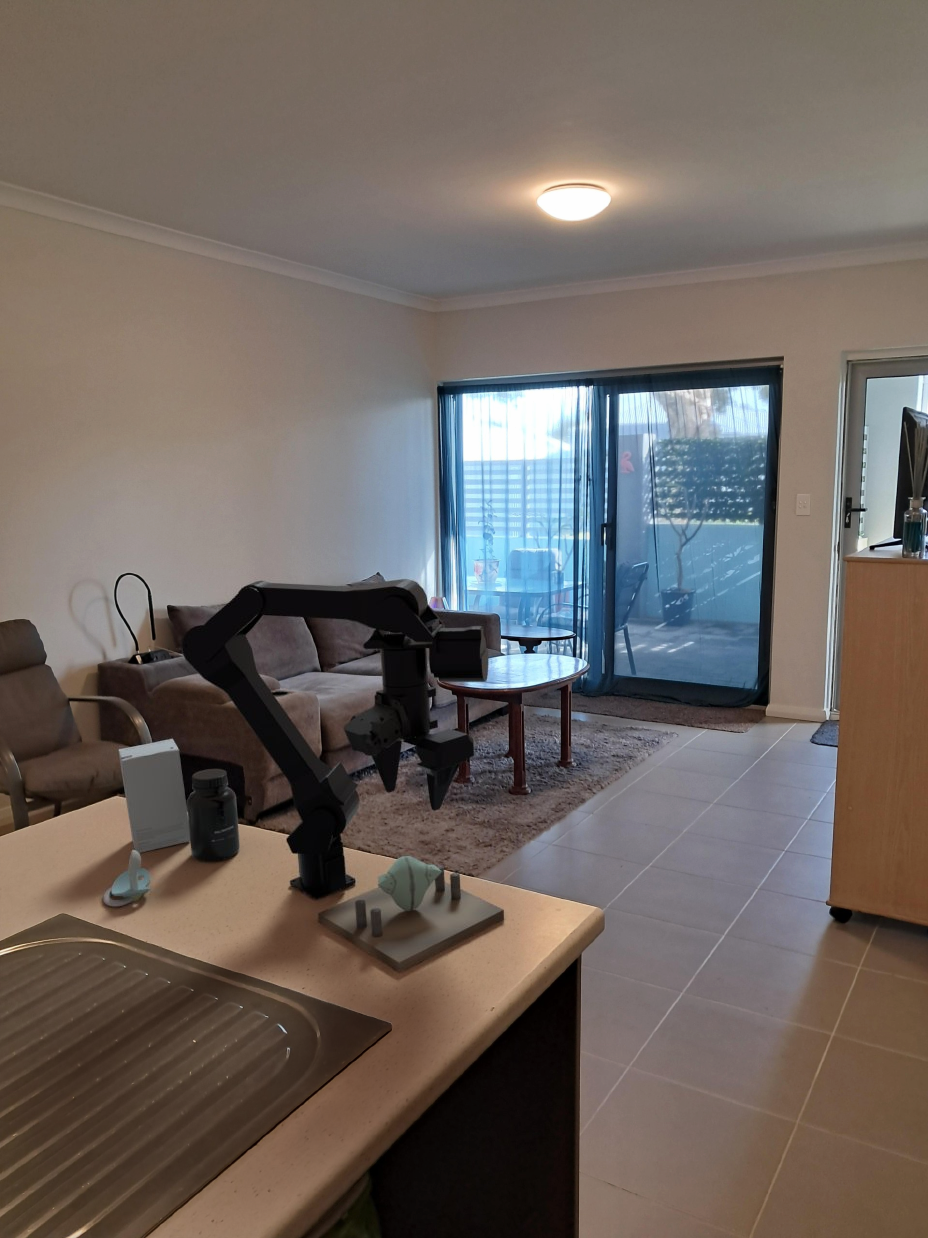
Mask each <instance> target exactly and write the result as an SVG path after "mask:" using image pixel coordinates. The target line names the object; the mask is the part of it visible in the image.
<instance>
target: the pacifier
mask: <svg viewBox="0 0 928 1238" xmlns="http://www.w3.org/2000/svg"><path fill="white" fill-rule="evenodd" d="M141 864H142V857H141V853H138V852H137V851H135V849H132V850H131V852H130V856H129V861H128V867H127V870H125V871H123V872H122V873H121V874H120V875H118V876H117V878H116V879H115V880H114V882H113V885H112V886H110V887H109V888H108V889H107V890H106V891H105V892H104V893H103V896H102V900H103V902H104V904H106V905H107V906H110V907H114V908H116V907H117V908H118V907H122V906H125V905H127V904H129V903H131V902H135V901H138V900H139V899H140V898H141V897H142V896H143V894H144V893H147V892H150V890H151V888H150V887H148V886H149V885H150V883H151V874H150V872H149V871H148V870H147V869H146V868H143V867H141ZM140 878H142V880H139V879H140ZM111 896H115V897H122V899H118V900H117V899H116V900H115V899H112V898H111Z"/></svg>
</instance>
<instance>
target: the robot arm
mask: <svg viewBox="0 0 928 1238" xmlns="http://www.w3.org/2000/svg"><path fill="white" fill-rule="evenodd" d="M264 616H269V617H271V616H273V617H293V618H307V619H308V618H309V619H327V620H345V621H351V622H355V623H357V624H360V625H362V626H364V627H367V628H370V629H374V630H373V632H372V634H371V636H370V637H369V639H367V641H365V642H364V643H363V645H362V646H363V649H365V650H380V651H379V652H380V663H381V682H382V689H379V690H376V691H375V695H374V705H373V706H372V707H370V708H368V709H366V710H364V711H362V712H361V713H358V714H355V715H353V716H352V717H351V718H350V720H349V721H348V723H346V724H345V725H344V726H343V731H344V733H345V736H346V738H347V740H348V742H349V744H350V747H351V750H352V751H354V752H359V753H363V754H364V755H365V756H368V757H371V758H372V760H373V762H374V765H375V766H376V769H377V771H378V774H379V777H380V779H381V781H382V784H383V787H384V789H385V792H386V793H393V792H394V791H395V790H396V785H397V782H398V781H397V780H398V774H399V766H400V759H401V751H402V745H403V743H405V744H409V745H413V746H415V747H416V755H417V757H418V758H419V761H420V762H418V763H416V765H417V766H418V767H419V768H420V769H421V770H423V771H424V773H425V774H426V783H427V788H428V789H427V791H428V798H429V803H430V807H431V811H434V812H435V811H438V810H440V809H441V807H442V805H443V803H444V800H445V798H446V796H447V793H448V791H449V788H450V787H451V784H452V782H453V779H454V778H455V775H456V774H457V772H458V770H459V768H460V767H461V764H462V763H465V762H467V761H468V759H469V758H473V757H474V756H475V740H474V738H472V737H471V735H469V734H468V733H466V732H463V731H458V730H454V729H451V728H447V729H445V730H442V731H438V732H436V733H435V732H434V733H431V730H433V729H437V728H439V725H438V723H439V722H438V719H436V718H432V717H431V703H430V698H433V697H437V688H436V687H433V686H430V685H429V671H430V673H431V675H433V677H434V678H436V679H437V678H438V681H439V682H440V683H486V682H487V679H488V674H489V648H487V642H486V637H485V635H484V627H483V626H482V625H472V626H467V627H446V625H445V623H444V622H443V621H442V619H441V618H440V617H439V616H438V614H437V613H436V612H435V611H434V610H433V608H432V607H431V606H430V605H429V603H428V595H427V594H426V591H425V589H424V588H423V587H422V586H421V585H420V584H419V582H417V581H415V580H413V579H408V578H402V579H394V580H386V581H380V582H374V583H369V584H364V585H358V586H346V585H345V586H343V585H325V584H324V585H320V584H303V583H299V584H298V583H283V582H282V583H279V582H278V583H277V582H269V581H266V580H258V581H257V580H256V581H254V582H252V583H250V584H247V585H245V586H243V587H241V589H240V590H239V591H238V592H237V593H236V594H235V596H233V598H232V599H231V600H230V601H229V602H228V603H225V605H224V606H223V607H221V608H220V609H219V610H218V611H217V612H215V614H214V615H212V616H211V617H210V618H209V619H208V620H206V621H204V622H202V623H200V624H197V625H195V626H192V627H191V628H189V629H188V630H187V632H186V633H185V634H184V636H183V638H182V645H181V648H180V649H181V653H182V655H183V657H184V659H185V661H186V662H187V664H189V666H191V667H192V668H193V670H195V671H196V673H198V675H199V676H200V677H201V678H203V679H204V680H205V681H206V682H208V683H209V684H211V685H213V686H214V687H216V688H218V689H219V690H222V691H223V692H225V694H226V695H227V696H228V698H229V700H230V701H231V702H232V703H233V705H234V707H236V709H237V710H238V712H239V713H240V715H241V716H242V718H244V720H245V721H246V724H247V725H248V726H249V727H250V729H251V730H252V732H253V733H254V734H255V736H256V737H257V739H258V740H259V741H260V743H261V744H262V746H263V747H264V749H265V751H267V752H268V755H270V757H271V758H272V760H273V761H274V763H275V764H276V765H277V766H278V768H279V769H280V771H281V773H282V774H283V775H284V777H285V778H286V780H287V781H288V783H289V786H290V789H291V791H290V792H291V794H292V799H293V804H294V808H295V809H296V812H297V814H298V816H299V818H300V822H299V823H298V824H297V825H296V827H294V829H293V830H292V831H291V832H290V834H289V835H288V836H287V837H286V840H285V841H286V843H287V845H288V847H289V850H290V853H291V854H292V855H293V854H294V855H297V861H298V873H299V876H298V877H295V878H293V879H290V880H289V885H290V886H291V887H294V888H295V889H297V890H298V891H299V892H301V893H303V894H305V895H307V896H309V897H310V898H312V899H313V900H318V899H321V898H324V897H326V896H329V895H331V894H333V893H335V892H339V891H340V890H342V889H345V888H347V887H350V886H352V885H355V884H356V878H355V877H353V876H351V875H349V874H347V871H346V869H347V867H346V857H345V854H344V842H343V841H342V836H341V834H343V832H344V831H345V830H346V828H347V827H348V825H349V824H350V823H351V821H352V819H353V818H354V816H356V814H357V812H358V810H359V805H360V795H359V793H358V791H357V788H358V786H359V784H358V783H356V782H355V781H354V780H353V779H352V778H351V777H350V776H349V774H348V772H347V770H346V768H345V766H344V765H343V764H342V762H337V764H335V765H334V766H333V767H332V766H330V765H328V764H327V763H325V762H323V761H322V760H321V759H320V758H318V756H317V755H316V753H315V752H314V750H313V749H312V747H311V746H310V745H309V744H308V742H307V740H306V739H305V737H304V736H303V735H302V734H301V732H300V731H299V729H298V728H297V726H296V725H295V724H294V722H293V721H292V719H291V718H290V716H289V715H288V714H287V713H288V712H286V711H285V709H284V708H283V706H282V705H281V704H280V702H279V701H278V699H277V698H276V697H275V695H274V693H273V692H272V690H271V689H270V688H269V686H268V685H267V684H266V682H265V681H264V679H263V678H262V677H261V675H260V674H259V672H258V670H257V667H256V662H255V658H254V653H253V648H252V646H251V644H250V642H249V639H248V638H247V635H248V634H249V633H250V632H251V631H252V630H253V629H254V628H255V627H256V626H257V624H258V623H260V621H261V620H262V618H263V617H264ZM427 649H428V651H427ZM428 662H429V663H428ZM428 664H429V666H428ZM428 667H429V669H428Z"/></svg>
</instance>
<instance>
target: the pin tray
mask: <svg viewBox="0 0 928 1238" xmlns="http://www.w3.org/2000/svg"><path fill="white" fill-rule="evenodd" d="M435 866H436V867H437V868H439V869H440V870H441V871H442V872H441V873H440V874H439V875H438V876H437V878H436V879H435V880H434V881H433V882H432V883H431V884H430V886H429V887H428V889H427V890H426V892H425V895H424V898H423V901H422V902H421V904H420V905H419V907H418V908H416V909H414V910H412V911H405V910H403V909H402V908H400V907H399V906H397V905H396V903H395V902H394V900H393V898H392V897H391V895H389V894H387V893H386V892H384V891H383V890H382V889H381V888H380V887H379V886H378V887H374V888H373V889H370V890H368V891H365V892H364V893H361V894H359V895H356V896H354V897H352V898H349V899H347V900H344V901H343V902H340V903H338V904H336V905H333V906H331V907H329V908H327V909H324V910H322V911H319V912H317V921H318V923H319V924H321V925H322V926H323V927H325V928H327V929H329V930H330V931H332V932H334V933H335V934H337V935H338V936H340V937H342V938H343V939H345V940H347V941H348V942H350V943H352V944H353V945H354V946H356V947H358V948H359V949H361V950H363V951H364V952H366V953H368V954H369V955H371V956H372V957H374V958H376V959H377V960H378V961H380V962H382V963H384V964H385V965H387V966H388V967H390V968H392V969H393V970H395V971H397V972H398V973H402V972H403V971H406V970H408V969H409V968H411V967H413V966H416V965H417V964H419V963H421V962H423V961H425V960H427V959H429V958H431V957H433V956H435V955H436V954H438V953H441V952H443V951H444V950H446V949H448V948H450V947H452V946H454V945H456V944H457V943H460V942H462V941H464V940H466V939H469V938H470V937H472V936H475V934H478V933H480V932H481V931H483V930H486V929H487V928H489V927H491V926H493V925H495V924H497V923H499V922H501V921H503V920H505V909H503V908H501V907H499V906H497V905H495V904H493V903H491V902H488V901H487V900H485V899H482V898H481V897H478V896H476V895H474V894H472V893H469V892H468V891H466V890H464V889H461V877H460V876H461V875H460V873H459V872H452V873H450V874H449V877H450V878H449V879H450V881H449V882H450V883H449V882H447V881H445V867H444V866H443V865H435Z"/></svg>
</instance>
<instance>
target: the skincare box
mask: <svg viewBox="0 0 928 1238" xmlns="http://www.w3.org/2000/svg"><path fill="white" fill-rule="evenodd" d="M118 756H119V764H120V770H121V771H120V772H121V776H122V781H123V788H124V789H123V791H124V794H125V795H124V796H125V802H126V808H127V814H128V820H129V827H130V834H131V839H132V844H133V847H134V850H135V851H137V852H138V853H139V854H141V853H145V852H149V851H153V850H158V849H162V848H167V847H171V846H175V845H182V844H184V843H190V833H189V822H188V811H187V800H186V794H185V786H184V779H183V773H182V771H183V770H182V765H181V764H182V763H181V756H180V749H179V747H178V745H177V743H176V742H175V740H174V739H173V738H169V739H165V740H160V741H159V740H158V741H155V742H151V743H146V744H141V745H136V746H131V747H124V748H119V749H118Z"/></svg>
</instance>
